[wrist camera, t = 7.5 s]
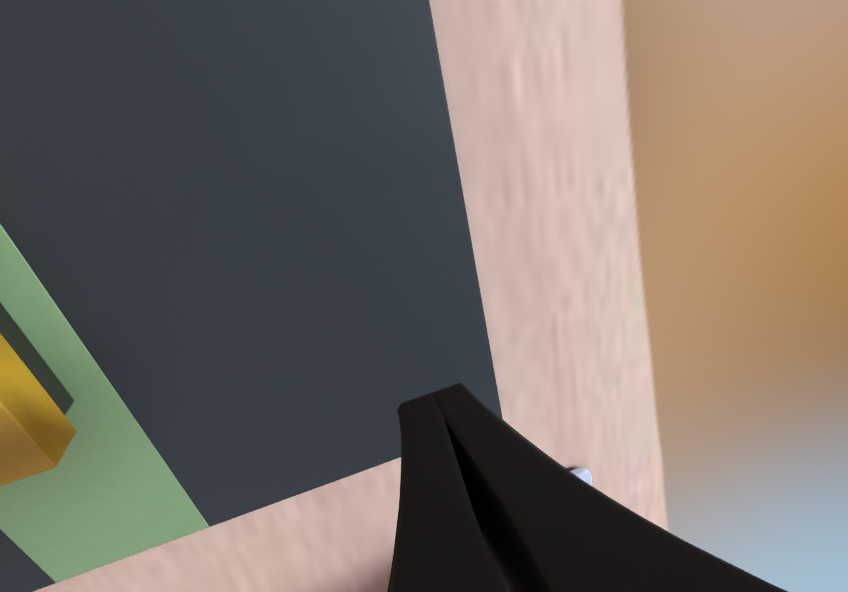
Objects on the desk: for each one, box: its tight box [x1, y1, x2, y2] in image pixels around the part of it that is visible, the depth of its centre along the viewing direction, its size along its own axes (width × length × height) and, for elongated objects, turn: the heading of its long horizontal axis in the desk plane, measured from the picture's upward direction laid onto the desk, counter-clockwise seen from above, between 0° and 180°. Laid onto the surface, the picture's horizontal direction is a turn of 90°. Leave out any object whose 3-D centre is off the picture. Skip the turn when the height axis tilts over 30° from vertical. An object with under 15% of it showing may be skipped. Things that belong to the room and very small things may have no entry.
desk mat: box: [0, 0, 502, 592], centre depth 13 cm, size 26×22×1 cm
